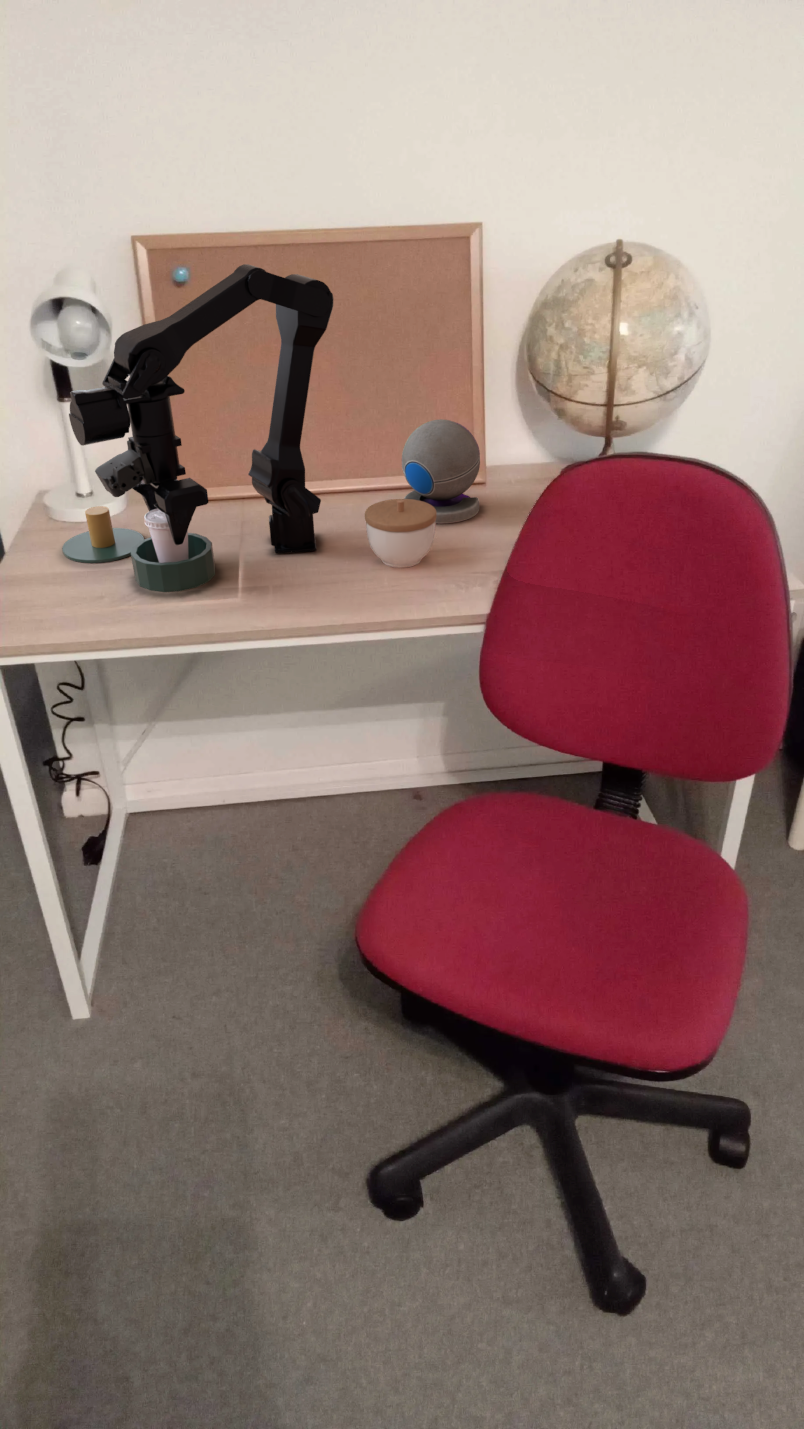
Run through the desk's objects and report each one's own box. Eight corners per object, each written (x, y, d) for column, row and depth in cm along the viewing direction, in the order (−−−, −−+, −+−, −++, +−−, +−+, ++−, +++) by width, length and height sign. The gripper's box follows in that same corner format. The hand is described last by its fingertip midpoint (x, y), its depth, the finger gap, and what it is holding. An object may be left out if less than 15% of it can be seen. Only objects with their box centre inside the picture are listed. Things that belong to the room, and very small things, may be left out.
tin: (216, 559, 153) (213, 529, 150) (214, 592, 143) (210, 561, 141) (140, 564, 152) (135, 534, 149) (132, 597, 142) (127, 567, 140)
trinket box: (447, 551, 154) (447, 493, 149) (419, 579, 146) (418, 519, 141) (385, 540, 158) (383, 484, 153) (354, 567, 150) (351, 508, 144)
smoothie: (188, 586, 144) (174, 494, 137) (147, 583, 145) (130, 492, 138) (204, 568, 150) (191, 478, 142) (164, 565, 151) (149, 476, 143)
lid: (148, 531, 163) (142, 493, 159) (141, 563, 152) (134, 523, 148) (70, 536, 161) (61, 498, 158) (57, 569, 151) (48, 528, 147)
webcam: (493, 507, 169) (496, 419, 161) (446, 530, 161) (446, 439, 153) (434, 490, 176) (435, 405, 168) (386, 511, 168) (384, 423, 160)
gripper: (73, 424, 138) (94, 529, 147) (121, 461, 125) (141, 573, 134) (148, 410, 143) (164, 512, 152) (202, 444, 130) (216, 553, 139)
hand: (169, 536), depth 144 cm, fingers closed on smoothie, 6 cm apart
